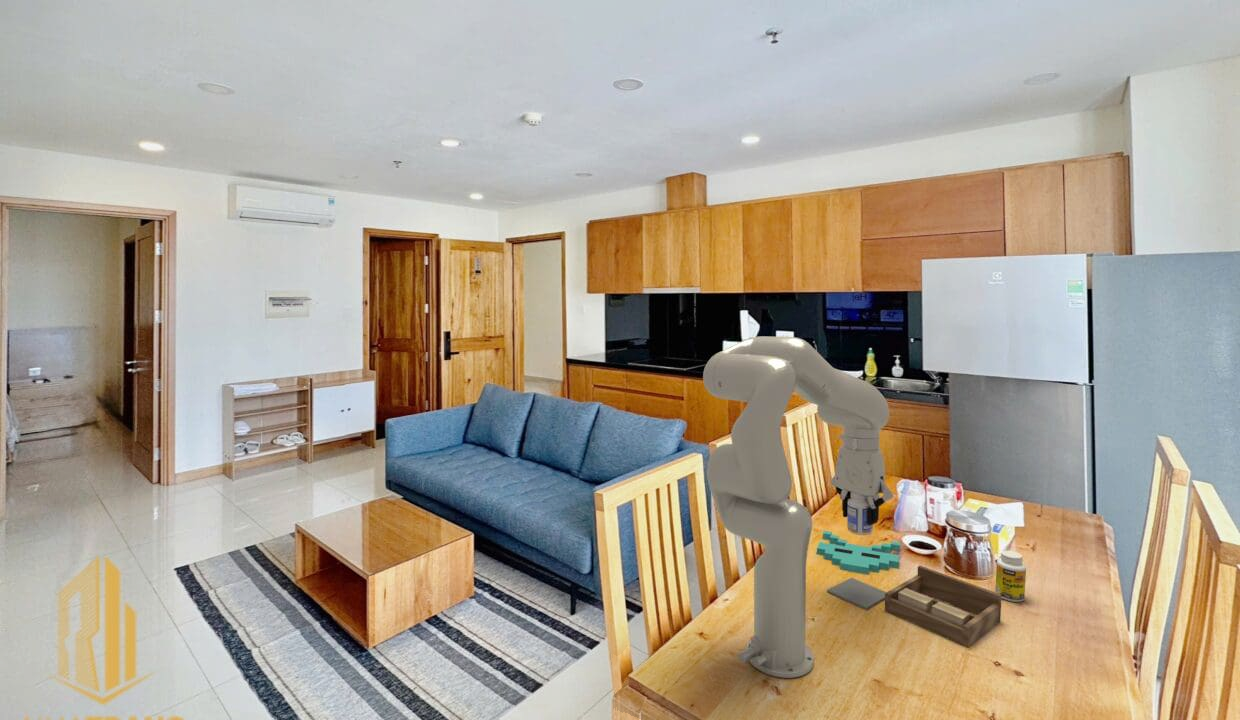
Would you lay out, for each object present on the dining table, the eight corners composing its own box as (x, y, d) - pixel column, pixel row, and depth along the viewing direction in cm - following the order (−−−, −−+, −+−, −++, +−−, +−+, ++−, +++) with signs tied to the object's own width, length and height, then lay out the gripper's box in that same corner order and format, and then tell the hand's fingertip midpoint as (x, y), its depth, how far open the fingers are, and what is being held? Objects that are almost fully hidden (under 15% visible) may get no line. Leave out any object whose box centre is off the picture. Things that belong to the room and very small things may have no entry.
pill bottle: (871, 528, 131) (872, 488, 130) (873, 537, 126) (874, 495, 125) (846, 525, 133) (847, 485, 132) (847, 534, 128) (847, 493, 127)
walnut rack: (967, 647, 110) (968, 618, 109) (884, 610, 123) (885, 584, 123) (1000, 621, 118) (1001, 594, 118) (919, 589, 132) (919, 565, 131)
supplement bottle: (998, 600, 127) (1000, 557, 126) (992, 589, 132) (994, 547, 131) (1027, 605, 124) (1029, 561, 123) (1021, 593, 129) (1023, 550, 129)
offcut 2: (962, 639, 112) (962, 618, 112) (931, 626, 117) (932, 606, 117) (968, 634, 114) (969, 613, 114) (938, 621, 119) (939, 601, 118)
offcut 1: (925, 623, 118) (926, 603, 118) (897, 611, 123) (898, 592, 123) (932, 619, 120) (933, 599, 119) (905, 607, 125) (905, 588, 124)
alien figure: (823, 537, 164) (812, 566, 146) (823, 530, 164) (813, 557, 146) (899, 550, 155) (897, 581, 137) (899, 542, 154) (898, 573, 137)
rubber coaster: (866, 610, 124) (866, 607, 124) (827, 591, 132) (827, 589, 132) (890, 596, 129) (890, 593, 129) (851, 579, 138) (851, 577, 138)
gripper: (818, 438, 132) (818, 512, 134) (888, 453, 118) (886, 535, 120) (837, 434, 137) (836, 506, 138) (907, 447, 123) (905, 527, 124)
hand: (859, 518), depth 129 cm, fingers closed on pill bottle, 5 cm apart
